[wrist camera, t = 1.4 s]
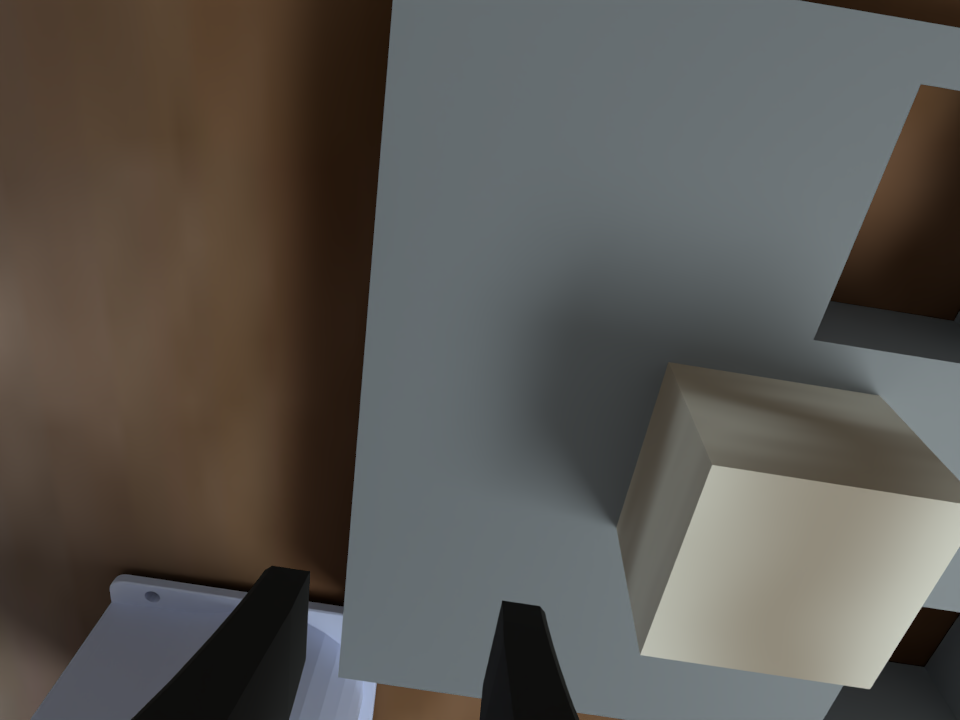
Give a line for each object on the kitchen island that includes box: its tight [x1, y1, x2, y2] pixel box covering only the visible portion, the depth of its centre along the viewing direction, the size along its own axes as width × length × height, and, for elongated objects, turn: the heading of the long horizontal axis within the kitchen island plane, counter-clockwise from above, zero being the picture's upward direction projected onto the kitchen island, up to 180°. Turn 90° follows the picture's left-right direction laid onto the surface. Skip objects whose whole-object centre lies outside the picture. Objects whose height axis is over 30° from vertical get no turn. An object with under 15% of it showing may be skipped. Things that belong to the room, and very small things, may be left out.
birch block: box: [616, 362, 960, 689], centre depth 15 cm, size 5×5×4 cm
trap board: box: [338, 0, 960, 720], centre depth 18 cm, size 28×20×3 cm
